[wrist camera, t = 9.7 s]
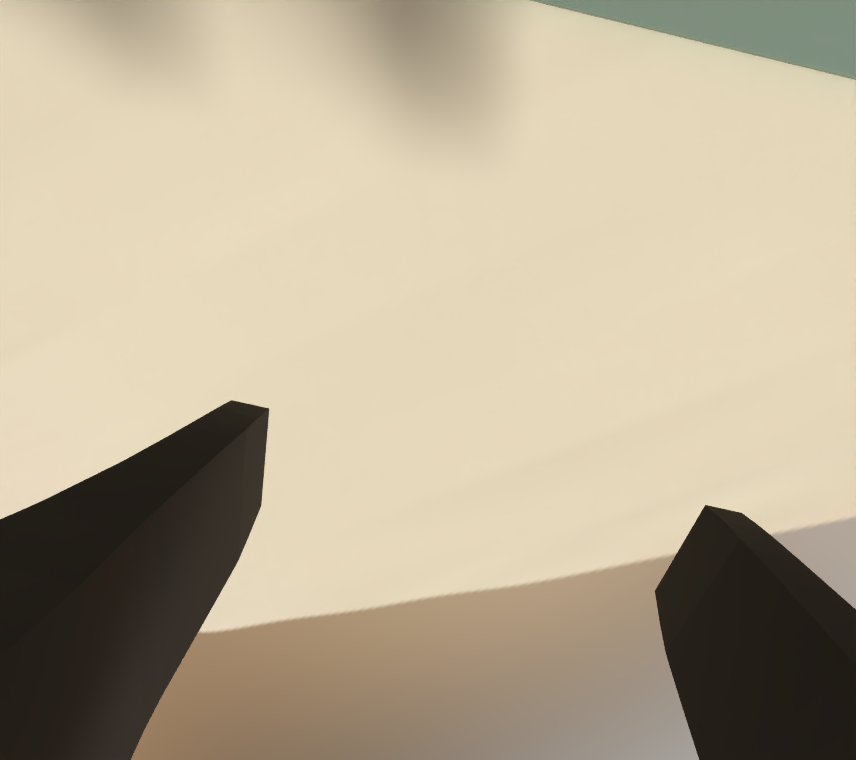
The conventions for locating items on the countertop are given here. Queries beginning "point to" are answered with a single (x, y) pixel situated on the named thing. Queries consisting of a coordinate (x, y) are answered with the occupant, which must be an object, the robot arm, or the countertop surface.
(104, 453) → the countertop surface
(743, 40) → the rubber mat
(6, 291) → the countertop surface
